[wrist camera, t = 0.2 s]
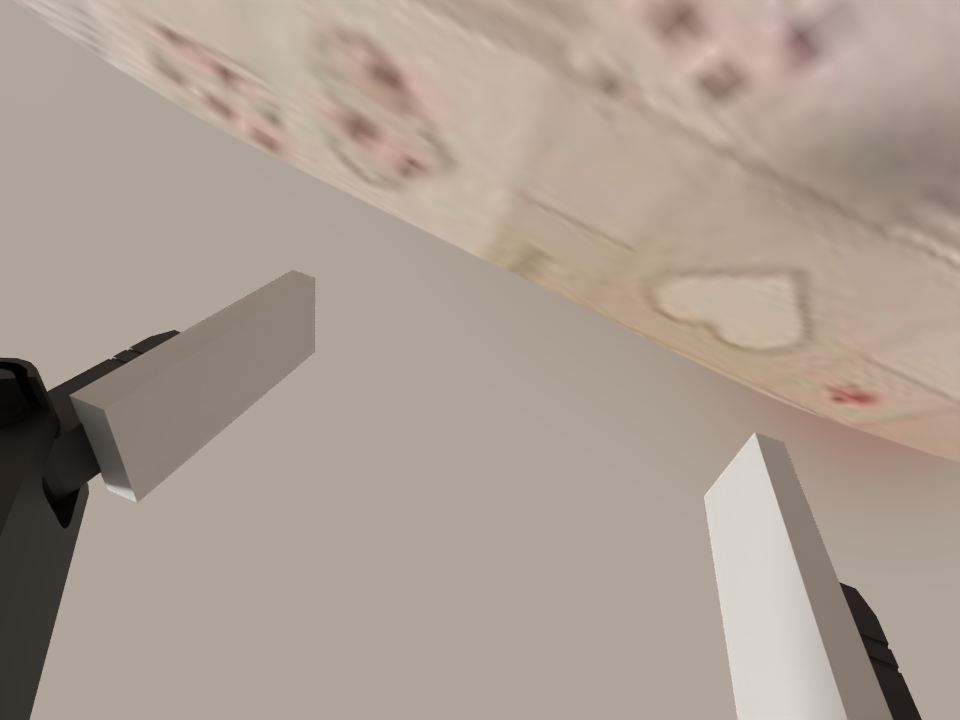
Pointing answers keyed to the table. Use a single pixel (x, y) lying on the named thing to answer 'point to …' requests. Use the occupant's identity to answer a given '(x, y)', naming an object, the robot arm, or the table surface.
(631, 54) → the table surface
